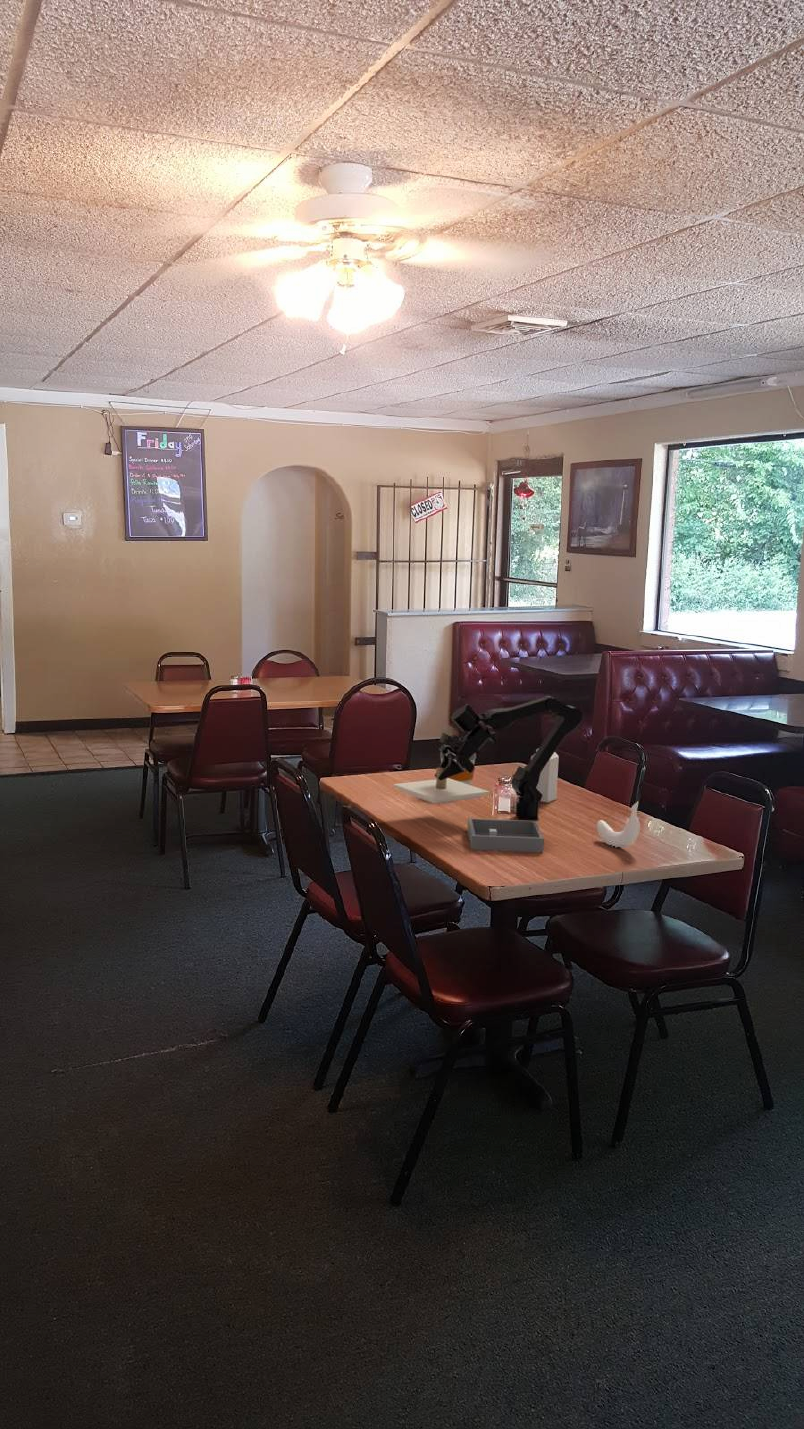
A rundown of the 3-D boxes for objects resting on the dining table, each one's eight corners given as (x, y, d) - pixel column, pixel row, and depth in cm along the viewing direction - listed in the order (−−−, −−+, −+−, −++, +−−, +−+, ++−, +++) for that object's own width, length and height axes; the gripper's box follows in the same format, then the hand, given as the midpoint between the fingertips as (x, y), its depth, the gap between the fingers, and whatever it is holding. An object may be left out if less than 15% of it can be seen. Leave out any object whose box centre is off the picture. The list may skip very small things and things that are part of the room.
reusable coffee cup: (440, 786, 377) (442, 745, 375) (475, 789, 376) (477, 747, 374) (436, 794, 365) (438, 751, 363) (473, 797, 364) (475, 753, 361)
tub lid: (488, 798, 326) (490, 772, 325) (432, 805, 314) (433, 778, 313) (448, 784, 343) (449, 759, 342) (393, 791, 331) (394, 765, 330)
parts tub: (534, 833, 318) (535, 820, 317) (543, 852, 298) (543, 838, 298) (467, 831, 318) (468, 818, 317) (471, 849, 298) (472, 835, 298)
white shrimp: (601, 837, 318) (604, 788, 315) (643, 854, 301) (647, 803, 299) (587, 838, 315) (591, 790, 313) (629, 855, 299) (633, 804, 297)
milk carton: (556, 799, 365) (559, 744, 362) (547, 803, 359) (550, 747, 356) (537, 796, 368) (540, 742, 366) (528, 799, 362) (531, 744, 360)
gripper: (446, 719, 335) (411, 754, 334) (466, 729, 318) (429, 766, 316) (469, 743, 339) (434, 778, 337) (489, 754, 321) (453, 791, 320)
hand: (437, 778), depth 328 cm, fingers closed on tub lid, 3 cm apart
